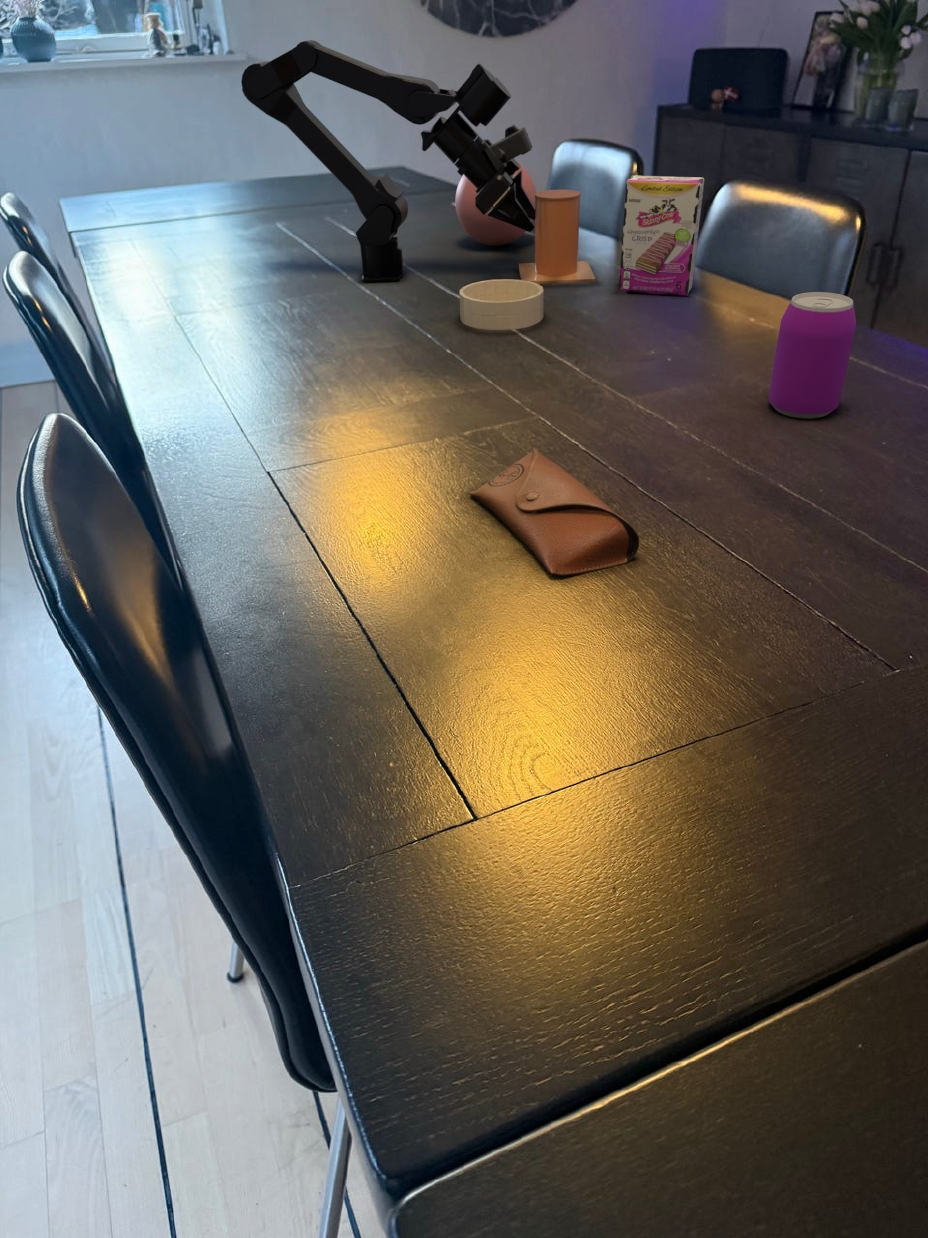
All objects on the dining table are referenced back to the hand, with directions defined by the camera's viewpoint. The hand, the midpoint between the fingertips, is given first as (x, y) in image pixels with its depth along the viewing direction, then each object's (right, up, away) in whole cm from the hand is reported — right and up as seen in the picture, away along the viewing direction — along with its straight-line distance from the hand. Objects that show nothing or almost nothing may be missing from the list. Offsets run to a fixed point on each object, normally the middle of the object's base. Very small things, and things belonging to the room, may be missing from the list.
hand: (534, 223), depth 148 cm
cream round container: (-6, -21, -15) cm, 27 cm away
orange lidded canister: (+4, -6, +4) cm, 8 cm away
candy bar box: (+19, -13, -5) cm, 24 cm away
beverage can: (+27, -42, -46) cm, 68 cm away
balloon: (-5, +6, +23) cm, 25 cm away
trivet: (+4, -7, +4) cm, 9 cm away
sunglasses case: (-4, -57, -66) cm, 87 cm away
